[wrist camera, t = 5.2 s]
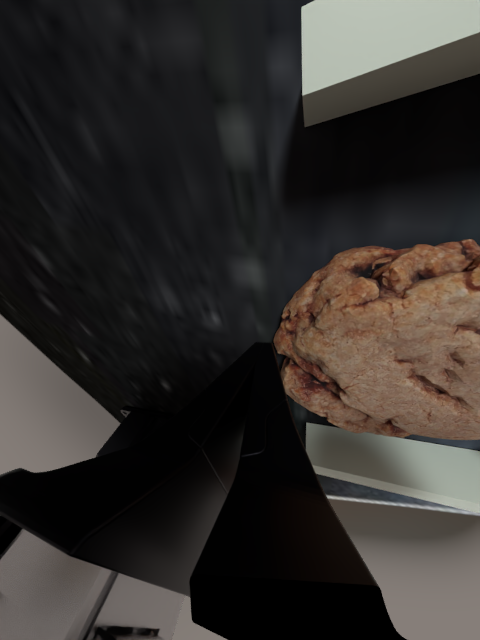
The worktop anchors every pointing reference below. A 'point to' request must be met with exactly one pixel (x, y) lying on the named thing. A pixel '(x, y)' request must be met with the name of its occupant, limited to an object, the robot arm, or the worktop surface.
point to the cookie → (389, 341)
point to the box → (354, 95)
